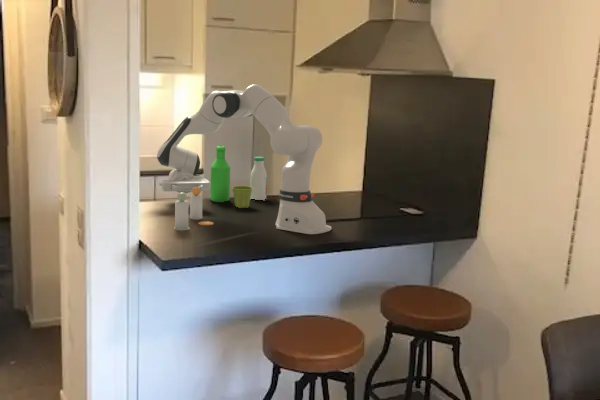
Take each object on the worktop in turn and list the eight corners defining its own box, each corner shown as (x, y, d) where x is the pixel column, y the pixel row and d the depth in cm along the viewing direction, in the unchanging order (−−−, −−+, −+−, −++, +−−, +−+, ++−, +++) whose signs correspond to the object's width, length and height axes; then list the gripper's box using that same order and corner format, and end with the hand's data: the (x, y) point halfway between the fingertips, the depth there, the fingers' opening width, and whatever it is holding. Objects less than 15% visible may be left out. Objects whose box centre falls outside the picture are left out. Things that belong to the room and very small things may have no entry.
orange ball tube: (204, 220, 254) (205, 187, 252) (195, 222, 250) (195, 188, 248) (196, 218, 257) (196, 185, 255) (187, 220, 253) (187, 186, 251)
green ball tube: (190, 228, 237) (191, 192, 234) (180, 230, 233) (181, 194, 231) (182, 226, 240) (182, 190, 237) (172, 227, 236) (172, 192, 234)
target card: (222, 226, 246) (222, 224, 246) (182, 234, 231) (182, 232, 230) (204, 221, 252) (204, 219, 252) (164, 229, 237) (164, 227, 237)
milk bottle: (263, 201, 297) (265, 158, 293) (247, 200, 298) (249, 157, 295) (268, 198, 304) (269, 156, 301) (252, 197, 306) (253, 155, 302)
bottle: (208, 199, 298) (209, 145, 293) (227, 198, 300) (228, 145, 295) (212, 202, 289) (212, 147, 284) (231, 202, 292) (232, 147, 287)
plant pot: (227, 207, 280) (228, 188, 279) (236, 203, 289) (237, 184, 288) (247, 209, 278) (247, 190, 276) (255, 206, 286) (256, 186, 285)
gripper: (158, 176, 271) (163, 181, 259) (206, 175, 279) (213, 181, 266) (158, 190, 273) (163, 197, 260) (206, 189, 280) (213, 196, 267)
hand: (189, 189), depth 263 cm, fingers open, 8 cm apart
